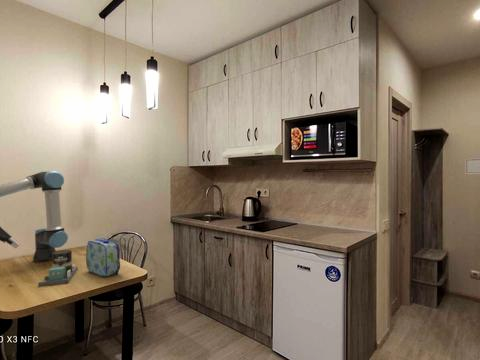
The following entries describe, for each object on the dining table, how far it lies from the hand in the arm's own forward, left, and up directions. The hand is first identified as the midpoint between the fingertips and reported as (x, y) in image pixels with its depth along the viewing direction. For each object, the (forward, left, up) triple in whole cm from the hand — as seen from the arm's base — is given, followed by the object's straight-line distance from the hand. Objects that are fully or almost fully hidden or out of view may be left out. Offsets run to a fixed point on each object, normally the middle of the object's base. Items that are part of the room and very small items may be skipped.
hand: (17, 246), depth 170 cm
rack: (+9, +23, -19) cm, 31 cm away
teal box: (+15, +24, -19) cm, 34 cm away
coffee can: (+3, +24, -19) cm, 31 cm away
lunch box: (+10, +47, -19) cm, 52 cm away
